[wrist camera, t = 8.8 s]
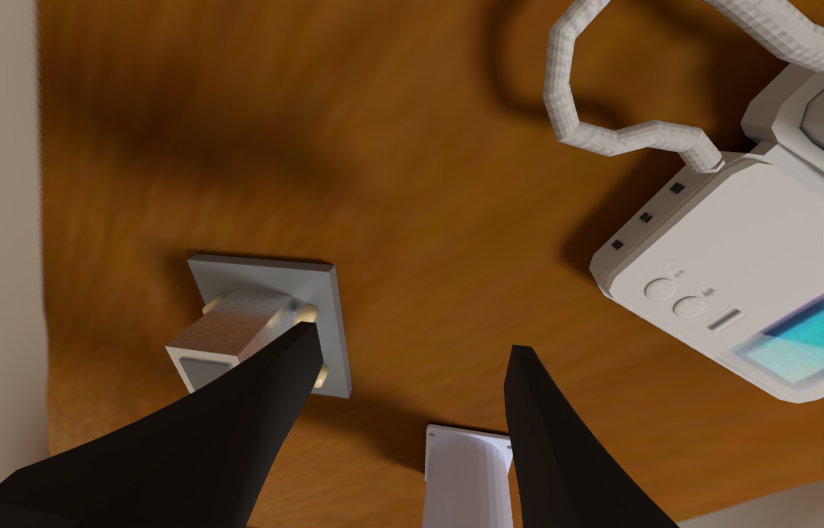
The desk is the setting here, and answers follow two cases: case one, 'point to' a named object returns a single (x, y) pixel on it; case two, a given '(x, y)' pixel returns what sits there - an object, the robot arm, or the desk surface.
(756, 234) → the intercom
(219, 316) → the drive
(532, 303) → the desk surface
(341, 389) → the tray
